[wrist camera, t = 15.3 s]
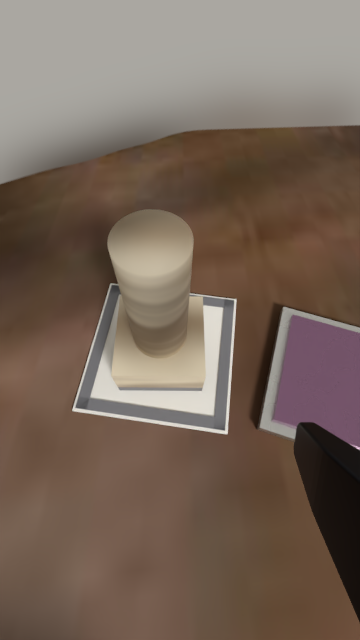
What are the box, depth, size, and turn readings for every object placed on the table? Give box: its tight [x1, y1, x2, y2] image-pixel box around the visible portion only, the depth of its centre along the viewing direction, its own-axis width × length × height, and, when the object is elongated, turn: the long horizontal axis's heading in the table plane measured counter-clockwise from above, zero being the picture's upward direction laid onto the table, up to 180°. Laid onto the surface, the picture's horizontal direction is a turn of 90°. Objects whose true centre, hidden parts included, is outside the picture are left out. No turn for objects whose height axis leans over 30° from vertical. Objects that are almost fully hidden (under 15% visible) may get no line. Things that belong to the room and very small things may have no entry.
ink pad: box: [257, 307, 360, 450], centre depth 23 cm, size 10×10×1 cm
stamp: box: [107, 209, 206, 391], centre depth 18 cm, size 6×6×12 cm
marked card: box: [72, 283, 236, 434], centre depth 24 cm, size 11×11×1 cm
